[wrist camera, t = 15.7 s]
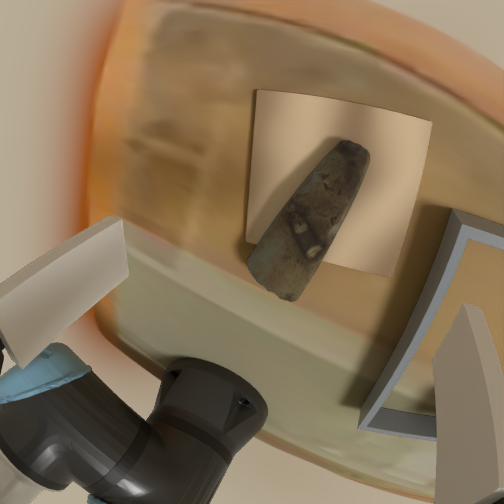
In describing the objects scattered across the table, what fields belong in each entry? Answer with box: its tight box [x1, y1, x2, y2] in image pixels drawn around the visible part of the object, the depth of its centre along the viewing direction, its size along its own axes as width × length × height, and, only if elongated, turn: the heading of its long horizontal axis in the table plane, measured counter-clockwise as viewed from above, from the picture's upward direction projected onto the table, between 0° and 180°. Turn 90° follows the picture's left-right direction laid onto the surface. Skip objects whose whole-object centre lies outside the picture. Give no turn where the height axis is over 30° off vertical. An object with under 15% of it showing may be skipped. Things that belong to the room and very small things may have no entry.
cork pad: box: [245, 90, 432, 278], centre depth 21 cm, size 12×12×1 cm
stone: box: [247, 140, 370, 302], centre depth 21 cm, size 13×5×2 cm, turn 157°
